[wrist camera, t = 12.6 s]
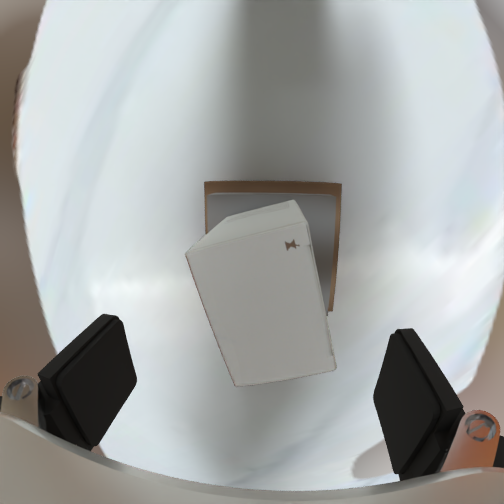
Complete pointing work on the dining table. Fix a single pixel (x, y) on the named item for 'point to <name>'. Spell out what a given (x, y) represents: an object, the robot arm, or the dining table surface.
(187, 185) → the dining table surface
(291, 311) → the small box
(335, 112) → the dining table surface
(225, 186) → the tower base
